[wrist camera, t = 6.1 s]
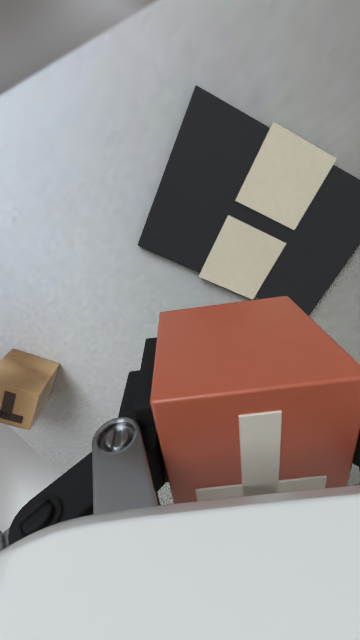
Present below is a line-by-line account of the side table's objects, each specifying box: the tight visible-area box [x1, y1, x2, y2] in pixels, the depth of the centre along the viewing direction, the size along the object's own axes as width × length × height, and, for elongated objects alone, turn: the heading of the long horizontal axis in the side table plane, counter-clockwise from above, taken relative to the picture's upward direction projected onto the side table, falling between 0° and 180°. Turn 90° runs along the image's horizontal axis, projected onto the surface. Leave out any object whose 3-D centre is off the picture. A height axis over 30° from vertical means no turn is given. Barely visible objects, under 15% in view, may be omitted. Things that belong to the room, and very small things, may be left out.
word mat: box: [138, 86, 360, 316], centre depth 23 cm, size 18×13×1 cm
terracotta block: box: [150, 296, 360, 504], centre depth 9 cm, size 5×5×5 cm
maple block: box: [0, 349, 60, 430], centre depth 28 cm, size 5×5×5 cm
